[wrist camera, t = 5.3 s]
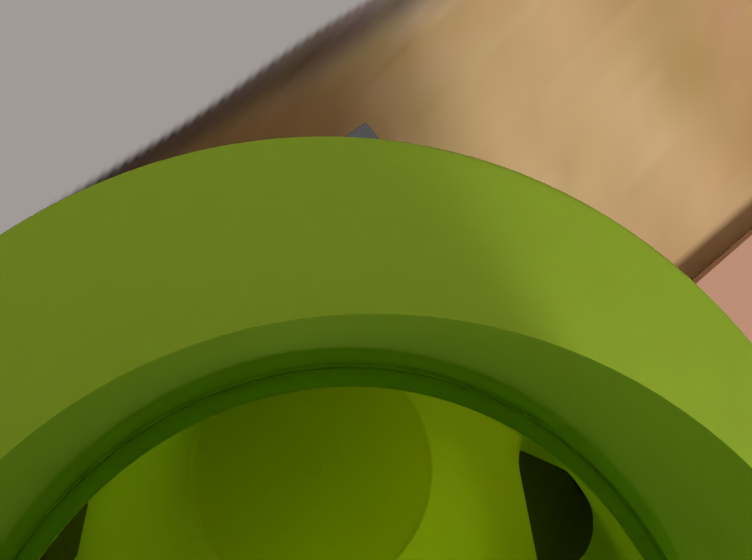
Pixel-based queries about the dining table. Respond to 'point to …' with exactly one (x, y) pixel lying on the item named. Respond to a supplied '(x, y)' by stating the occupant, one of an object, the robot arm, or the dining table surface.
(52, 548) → the robot arm
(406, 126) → the dining table surface
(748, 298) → the terracotta tile
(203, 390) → the soap dispenser
